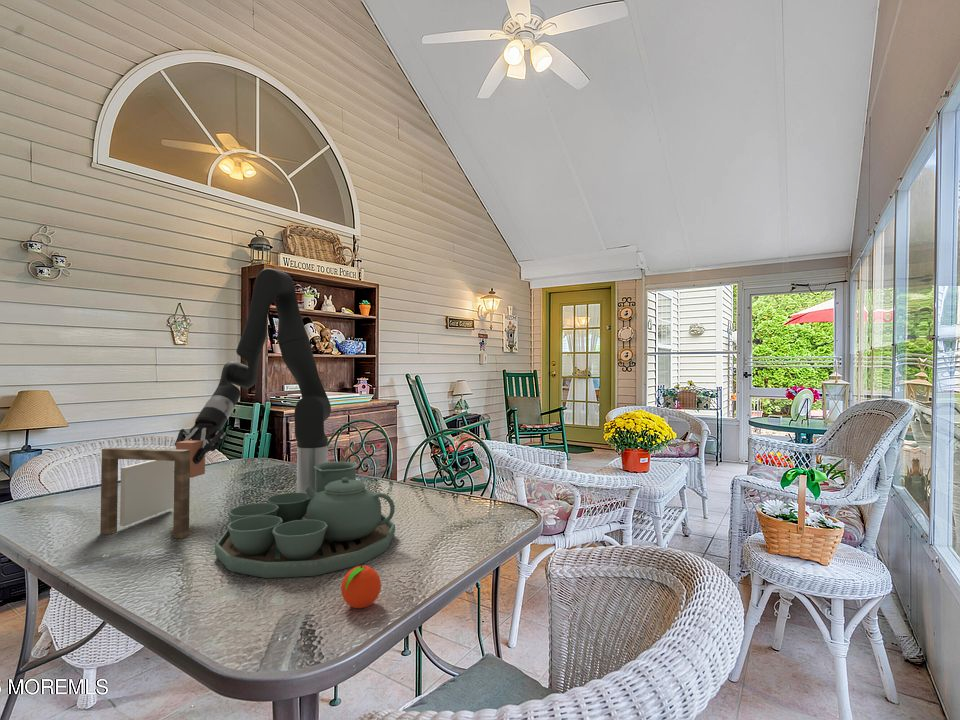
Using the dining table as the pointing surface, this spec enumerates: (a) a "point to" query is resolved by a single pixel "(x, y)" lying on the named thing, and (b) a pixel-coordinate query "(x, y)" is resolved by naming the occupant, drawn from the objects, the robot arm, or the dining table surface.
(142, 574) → the dining table surface
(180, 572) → the dining table surface
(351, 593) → the clementine
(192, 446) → the salmon orange block
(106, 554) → the dining table surface
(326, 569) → the tea set
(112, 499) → the door frame
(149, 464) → the door
